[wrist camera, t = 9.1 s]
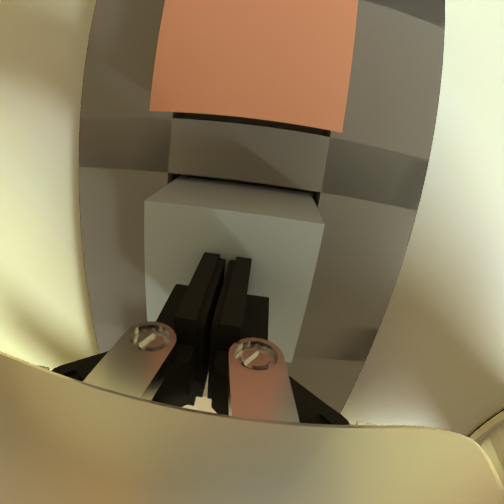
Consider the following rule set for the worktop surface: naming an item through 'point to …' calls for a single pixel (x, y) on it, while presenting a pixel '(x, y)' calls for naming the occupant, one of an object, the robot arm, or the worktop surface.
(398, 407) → the worktop surface
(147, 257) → the grey-blue square block
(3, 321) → the worktop surface
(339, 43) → the red key
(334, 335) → the keypad base
